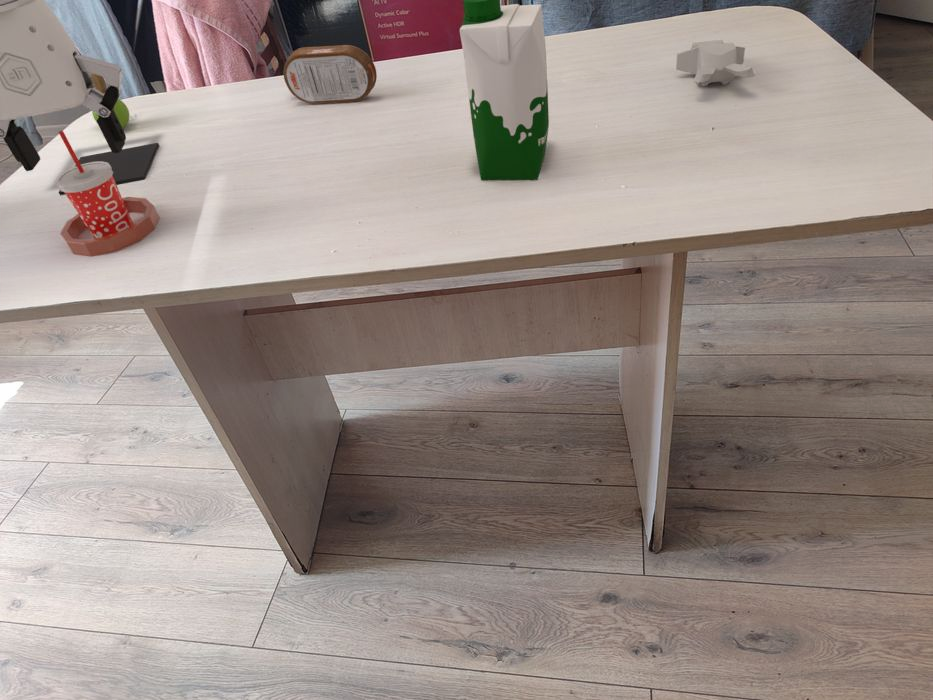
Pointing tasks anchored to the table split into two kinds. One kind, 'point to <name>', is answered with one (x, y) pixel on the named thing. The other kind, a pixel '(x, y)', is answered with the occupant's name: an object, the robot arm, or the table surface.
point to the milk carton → (506, 87)
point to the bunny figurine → (714, 62)
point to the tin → (330, 74)
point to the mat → (126, 162)
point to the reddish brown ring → (115, 240)
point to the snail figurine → (119, 107)
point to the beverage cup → (94, 195)
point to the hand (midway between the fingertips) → (76, 157)
